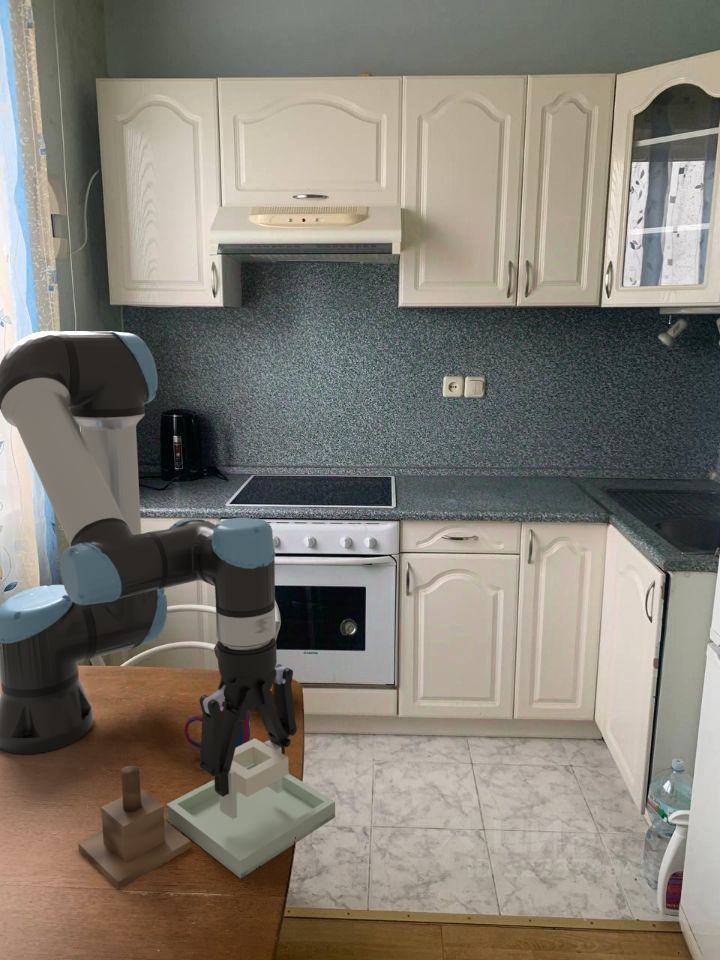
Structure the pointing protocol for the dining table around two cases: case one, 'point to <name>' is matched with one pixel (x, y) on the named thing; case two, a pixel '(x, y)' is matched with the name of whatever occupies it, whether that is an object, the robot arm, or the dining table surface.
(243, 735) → the mug
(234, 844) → the tray
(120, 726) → the dining table surface
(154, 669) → the dining table surface
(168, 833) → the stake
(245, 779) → the ring
